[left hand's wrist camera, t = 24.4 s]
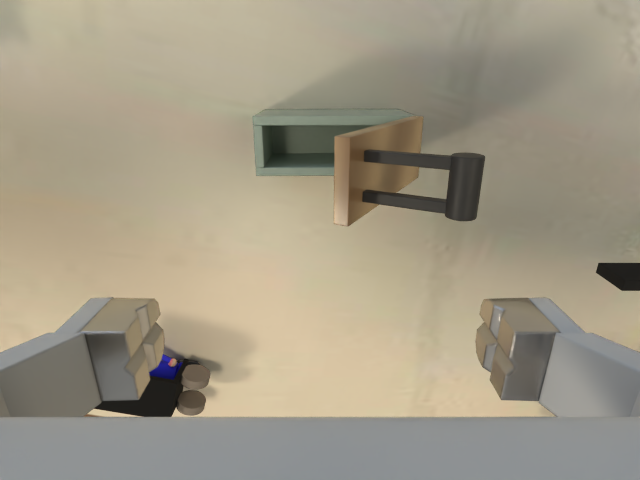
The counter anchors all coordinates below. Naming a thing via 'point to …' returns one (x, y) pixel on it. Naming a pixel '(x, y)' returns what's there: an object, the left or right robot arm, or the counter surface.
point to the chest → (308, 137)
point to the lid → (399, 173)
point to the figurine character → (167, 391)
